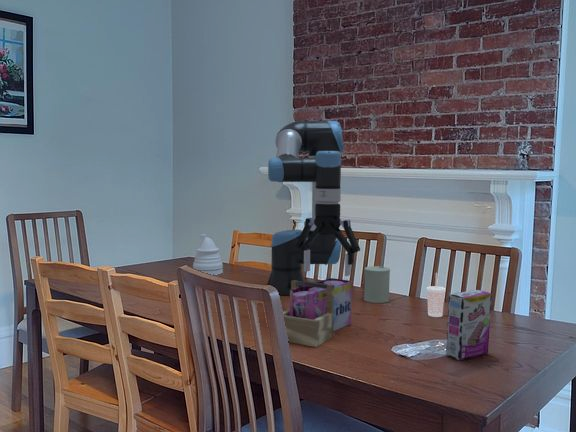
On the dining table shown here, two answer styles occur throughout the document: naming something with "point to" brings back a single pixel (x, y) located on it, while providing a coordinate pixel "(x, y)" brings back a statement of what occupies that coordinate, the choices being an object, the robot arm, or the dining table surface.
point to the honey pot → (208, 257)
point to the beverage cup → (435, 300)
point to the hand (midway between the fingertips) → (327, 273)
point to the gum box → (322, 302)
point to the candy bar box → (468, 324)
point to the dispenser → (311, 320)
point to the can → (376, 284)
